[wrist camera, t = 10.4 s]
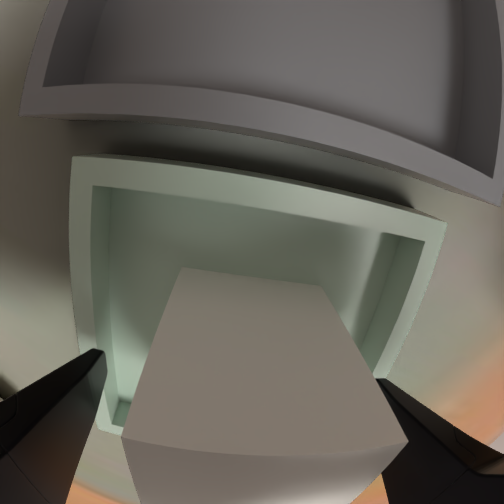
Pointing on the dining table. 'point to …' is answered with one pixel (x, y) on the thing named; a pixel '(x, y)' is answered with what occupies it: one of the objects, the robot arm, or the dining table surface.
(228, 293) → the block
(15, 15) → the dining table surface
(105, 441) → the dining table surface
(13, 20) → the dining table surface
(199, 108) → the gray square tray
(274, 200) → the holder
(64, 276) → the dining table surface
